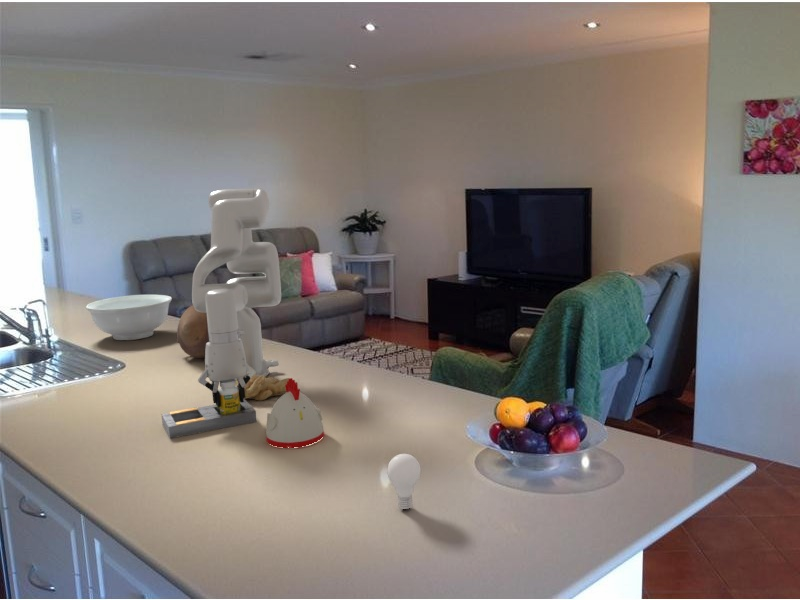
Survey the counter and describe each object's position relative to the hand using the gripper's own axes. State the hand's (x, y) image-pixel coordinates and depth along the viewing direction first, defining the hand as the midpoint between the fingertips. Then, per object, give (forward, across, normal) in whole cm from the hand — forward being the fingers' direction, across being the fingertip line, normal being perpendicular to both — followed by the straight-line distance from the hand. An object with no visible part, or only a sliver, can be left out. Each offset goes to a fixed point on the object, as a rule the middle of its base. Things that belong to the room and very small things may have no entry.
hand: (229, 402), depth 192 cm
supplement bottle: (+4, 0, 0) cm, 4 cm away
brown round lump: (+6, -13, -72) cm, 73 cm away
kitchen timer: (+4, -10, +23) cm, 25 cm away
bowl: (+7, +10, -120) cm, 121 cm away
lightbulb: (+3, -16, +70) cm, 72 cm away
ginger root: (+5, -11, -14) cm, 19 cm away
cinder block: (+4, +6, +1) cm, 7 cm away
